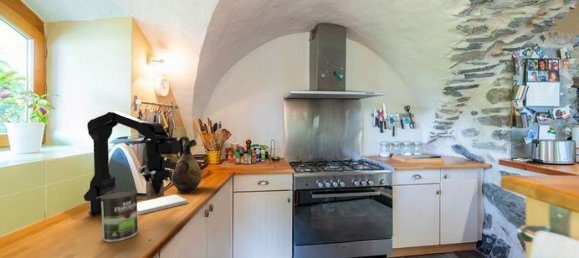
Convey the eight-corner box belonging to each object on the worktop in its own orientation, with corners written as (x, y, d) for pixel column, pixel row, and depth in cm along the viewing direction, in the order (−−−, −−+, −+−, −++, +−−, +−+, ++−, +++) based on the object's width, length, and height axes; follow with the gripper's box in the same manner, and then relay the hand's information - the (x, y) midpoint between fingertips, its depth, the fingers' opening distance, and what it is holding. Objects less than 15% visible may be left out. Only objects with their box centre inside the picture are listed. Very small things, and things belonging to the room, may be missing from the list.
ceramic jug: (208, 189, 146) (206, 135, 144) (184, 196, 132) (182, 137, 131) (188, 185, 154) (186, 135, 153) (164, 191, 141) (162, 136, 140)
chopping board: (139, 214, 107) (139, 211, 107) (130, 207, 117) (130, 204, 117) (186, 203, 122) (186, 200, 121) (175, 197, 131) (175, 194, 131)
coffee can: (144, 232, 90) (142, 192, 90) (111, 245, 82) (109, 200, 81) (128, 226, 96) (127, 188, 95) (96, 237, 87) (94, 195, 86)
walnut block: (150, 198, 101) (150, 183, 101) (146, 196, 105) (145, 181, 104) (164, 195, 105) (163, 181, 104) (159, 193, 108) (159, 179, 108)
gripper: (183, 154, 103) (184, 193, 104) (166, 150, 116) (167, 185, 117) (153, 157, 95) (154, 199, 96) (138, 153, 108) (139, 190, 109)
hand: (155, 192), depth 105 cm, fingers closed on walnut block, 5 cm apart
